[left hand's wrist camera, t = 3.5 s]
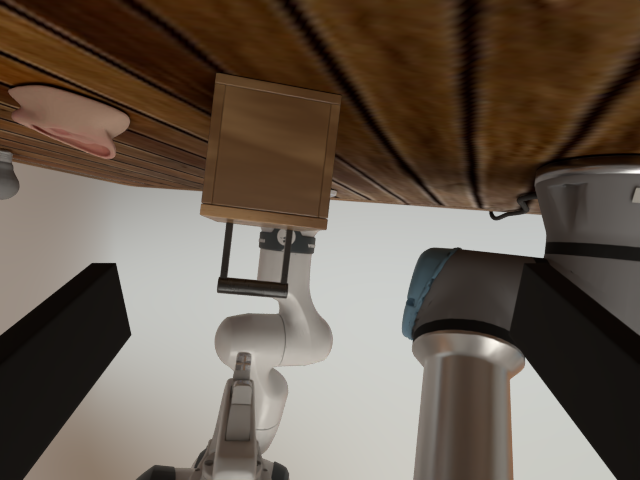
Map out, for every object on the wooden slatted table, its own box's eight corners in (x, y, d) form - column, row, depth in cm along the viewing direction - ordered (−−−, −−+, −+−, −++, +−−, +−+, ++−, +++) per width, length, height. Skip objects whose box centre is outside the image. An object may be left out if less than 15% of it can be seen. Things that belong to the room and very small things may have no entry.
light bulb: (17, 150, 77) (11, 200, 77) (27, 155, 83) (21, 202, 83) (-20, 144, 75) (-27, 196, 75) (-8, 150, 81) (-14, 198, 81)
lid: (302, 224, 46) (293, 296, 46) (217, 214, 44) (208, 289, 44) (327, 219, 31) (315, 326, 31) (201, 203, 29) (188, 317, 29)
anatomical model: (2, 119, 34) (143, 150, 41) (8, 73, 34) (147, 112, 41) (4, 140, 44) (116, 162, 51) (8, 105, 44) (120, 132, 51)
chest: (312, 139, 45) (302, 223, 45) (227, 126, 43) (217, 213, 43) (341, 95, 31) (327, 218, 31) (216, 72, 29) (201, 202, 29)
